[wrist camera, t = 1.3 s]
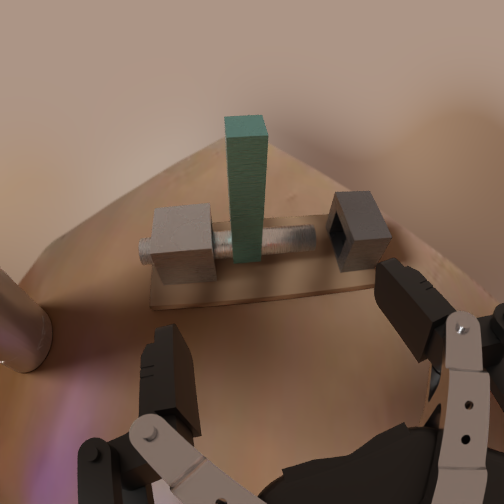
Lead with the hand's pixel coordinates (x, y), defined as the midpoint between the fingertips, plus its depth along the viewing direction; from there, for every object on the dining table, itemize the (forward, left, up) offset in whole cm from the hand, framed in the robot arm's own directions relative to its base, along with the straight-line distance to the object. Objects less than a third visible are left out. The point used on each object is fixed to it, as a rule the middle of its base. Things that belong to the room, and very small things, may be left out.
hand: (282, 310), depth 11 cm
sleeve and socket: (+3, +16, -19) cm, 25 cm away
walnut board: (+3, +16, -20) cm, 25 cm away
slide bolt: (-2, +16, -18) cm, 24 cm away
